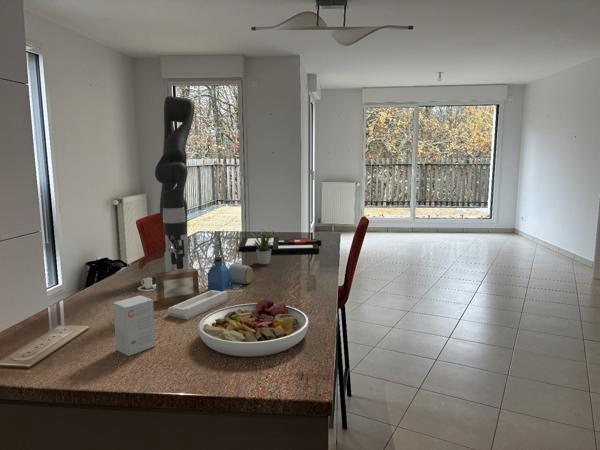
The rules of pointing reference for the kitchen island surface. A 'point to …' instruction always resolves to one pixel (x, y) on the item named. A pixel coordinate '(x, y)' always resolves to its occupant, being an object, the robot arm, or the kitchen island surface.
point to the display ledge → (198, 304)
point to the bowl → (253, 328)
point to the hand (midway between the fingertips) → (177, 266)
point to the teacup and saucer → (147, 284)
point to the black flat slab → (284, 245)
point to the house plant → (263, 248)
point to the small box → (134, 325)
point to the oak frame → (176, 285)
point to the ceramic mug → (240, 274)
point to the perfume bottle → (218, 276)
